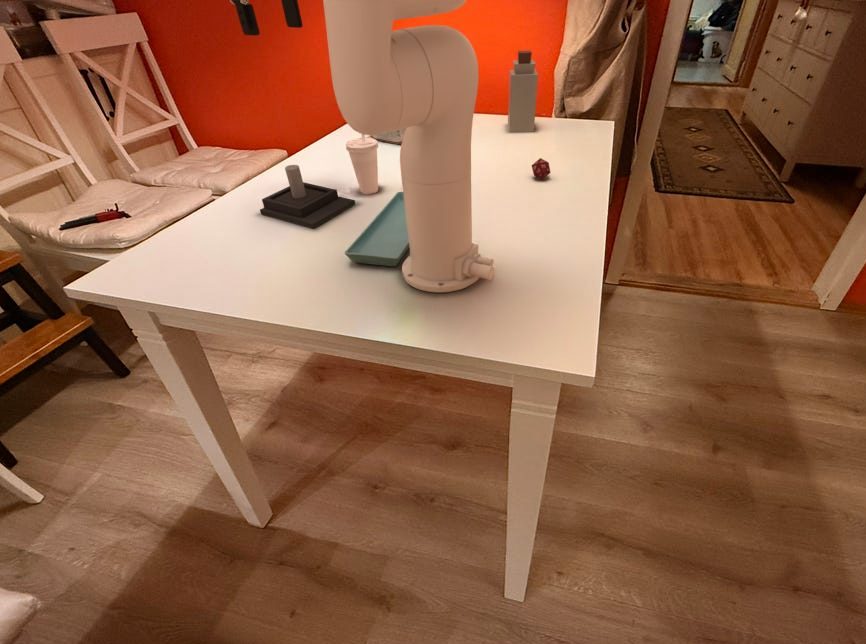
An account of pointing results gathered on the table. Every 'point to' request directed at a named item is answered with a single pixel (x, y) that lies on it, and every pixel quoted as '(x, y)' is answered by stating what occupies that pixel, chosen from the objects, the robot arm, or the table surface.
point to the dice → (541, 169)
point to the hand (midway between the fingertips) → (274, 30)
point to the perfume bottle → (522, 94)
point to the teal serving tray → (383, 236)
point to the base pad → (307, 207)
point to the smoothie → (364, 163)
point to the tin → (391, 136)
